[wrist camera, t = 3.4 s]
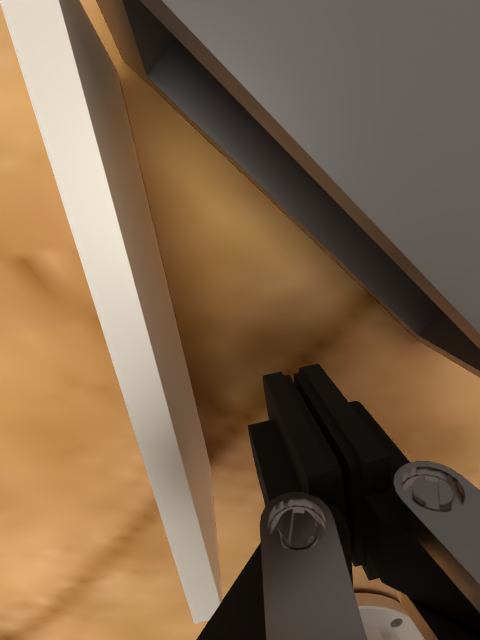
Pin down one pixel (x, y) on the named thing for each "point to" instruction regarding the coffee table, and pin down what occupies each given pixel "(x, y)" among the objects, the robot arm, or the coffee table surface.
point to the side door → (122, 270)
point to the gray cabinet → (342, 132)
